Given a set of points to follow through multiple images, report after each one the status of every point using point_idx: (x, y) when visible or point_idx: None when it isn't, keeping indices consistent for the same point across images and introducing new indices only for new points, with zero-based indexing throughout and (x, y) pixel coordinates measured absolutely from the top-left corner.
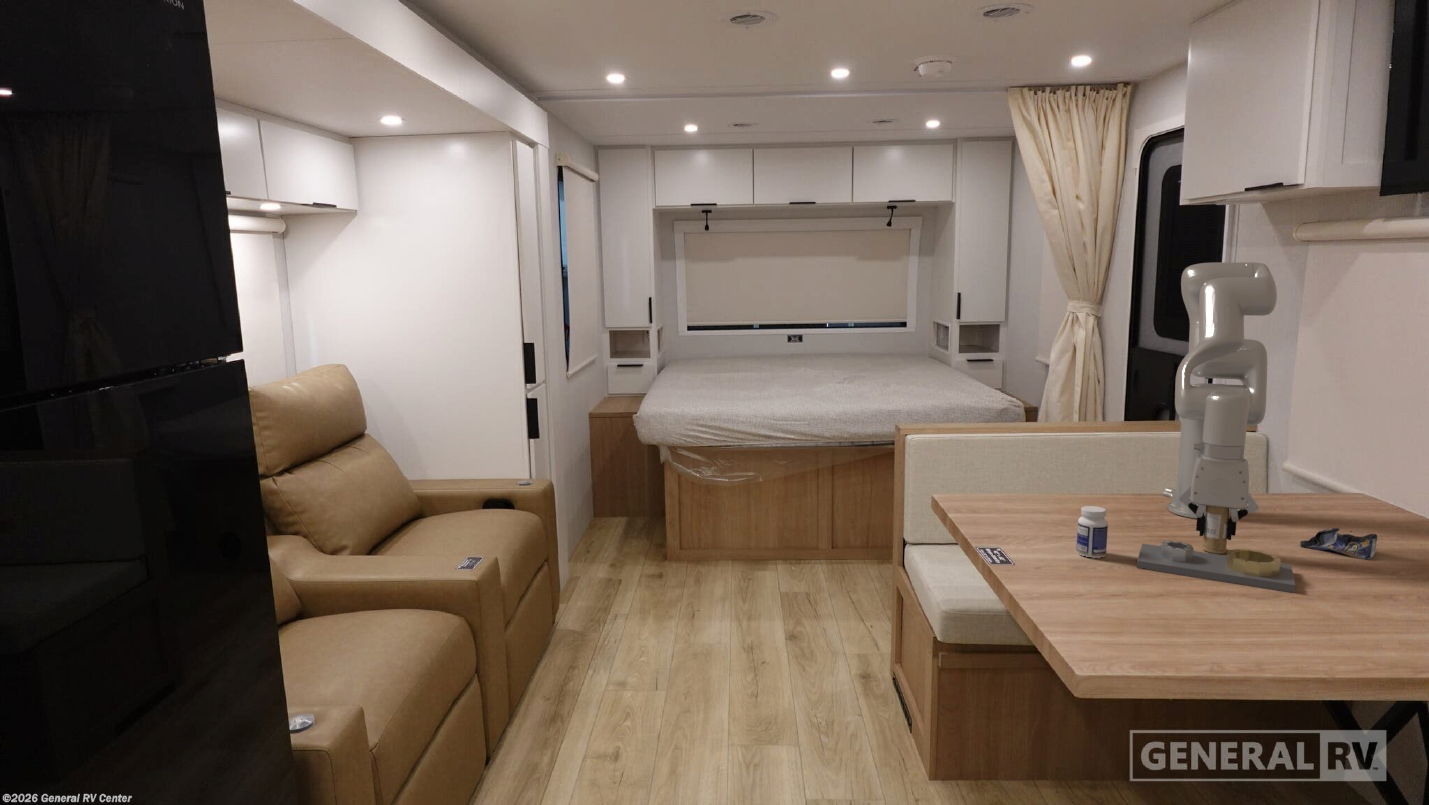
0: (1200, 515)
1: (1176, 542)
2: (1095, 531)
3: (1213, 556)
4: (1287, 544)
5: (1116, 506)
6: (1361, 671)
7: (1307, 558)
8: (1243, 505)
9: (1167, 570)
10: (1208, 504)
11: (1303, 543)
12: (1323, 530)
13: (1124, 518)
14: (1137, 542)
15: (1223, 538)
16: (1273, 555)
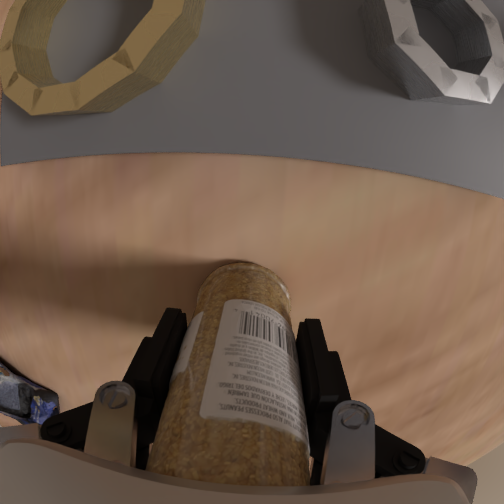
0: (343, 414)
1: (462, 75)
2: None
3: (258, 107)
4: (80, 404)
5: None
6: None
7: (20, 321)
8: (3, 451)
9: None
10: (324, 495)
11: (49, 397)
12: (15, 418)
13: (427, 440)
14: (483, 281)
15: (201, 312)
16: (5, 83)
